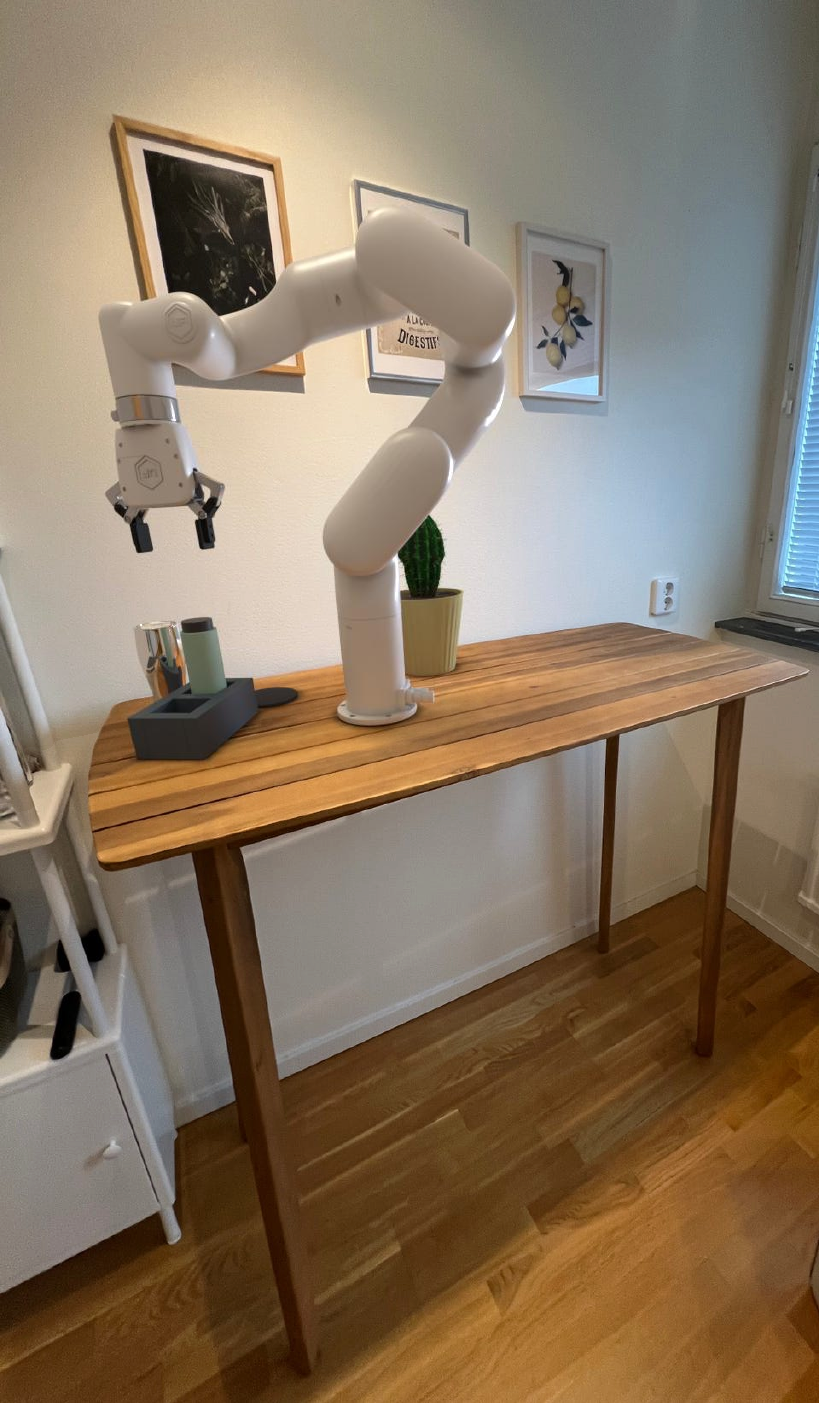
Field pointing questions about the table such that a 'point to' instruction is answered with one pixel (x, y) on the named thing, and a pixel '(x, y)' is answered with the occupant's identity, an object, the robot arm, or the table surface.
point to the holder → (192, 721)
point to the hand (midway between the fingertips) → (176, 550)
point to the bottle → (203, 656)
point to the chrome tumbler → (161, 656)
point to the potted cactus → (428, 605)
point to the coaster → (274, 696)
